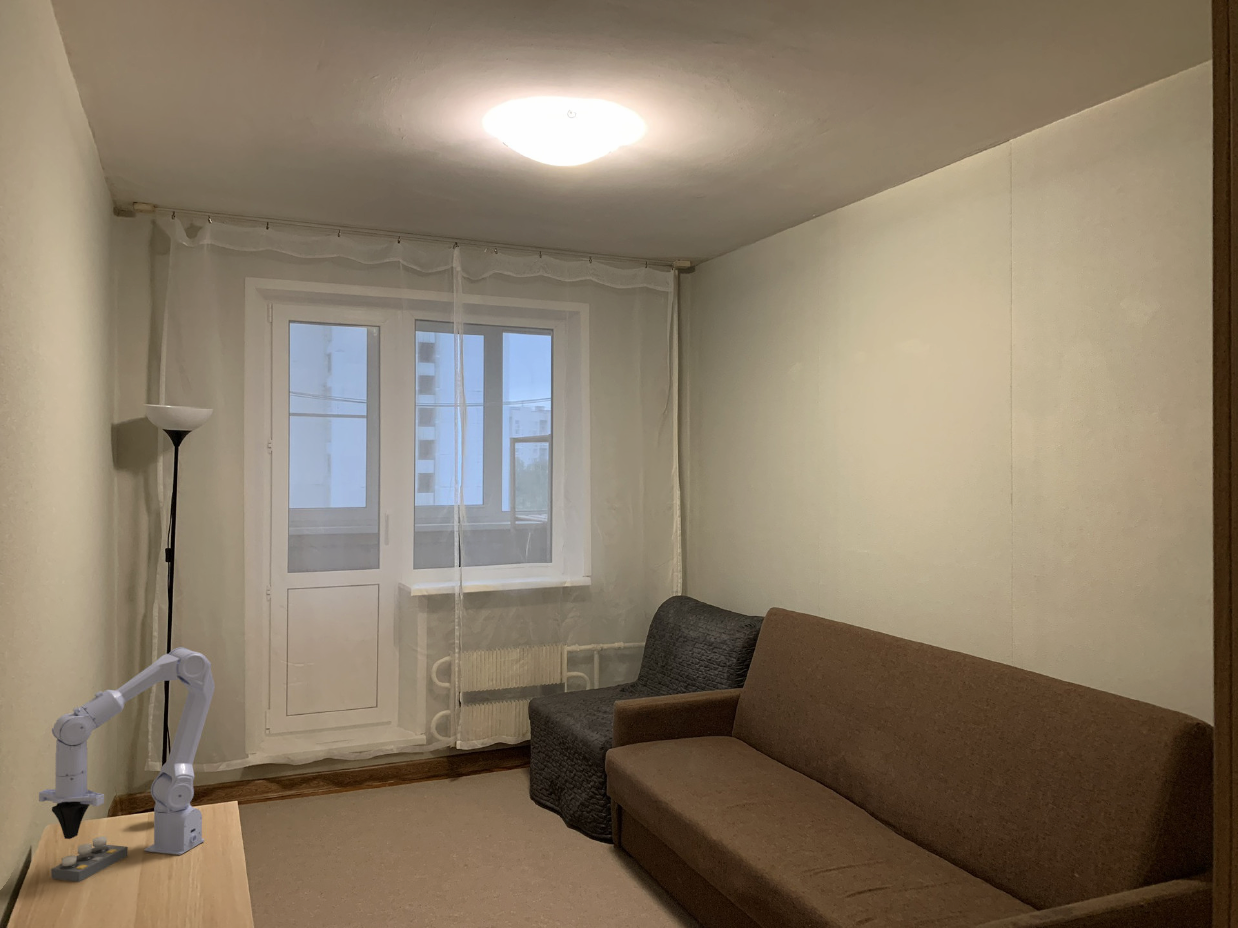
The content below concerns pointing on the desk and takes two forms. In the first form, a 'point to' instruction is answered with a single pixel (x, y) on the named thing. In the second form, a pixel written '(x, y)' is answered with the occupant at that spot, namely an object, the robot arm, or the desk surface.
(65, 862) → the button left
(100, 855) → the switch panel
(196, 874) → the desk surface
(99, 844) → the button right
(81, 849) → the button middle
